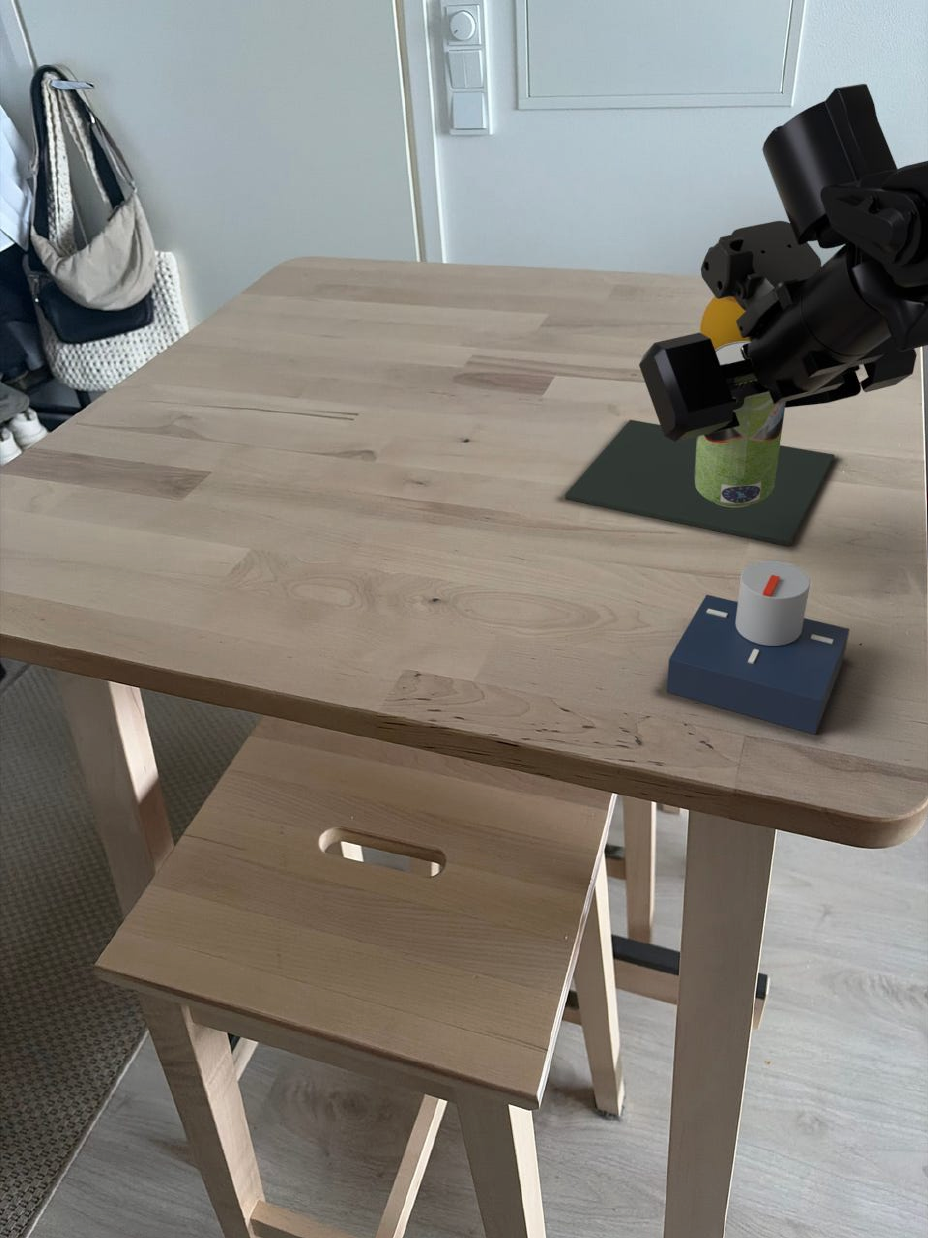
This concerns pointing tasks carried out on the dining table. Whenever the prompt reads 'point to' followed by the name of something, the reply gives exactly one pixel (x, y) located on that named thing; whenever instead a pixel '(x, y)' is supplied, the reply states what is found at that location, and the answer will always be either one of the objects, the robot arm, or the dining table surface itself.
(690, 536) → the dining table surface
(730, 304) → the apple
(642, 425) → the drip mat
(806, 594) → the grey rotary knob
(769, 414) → the beverage can
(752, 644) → the rotary dial base
